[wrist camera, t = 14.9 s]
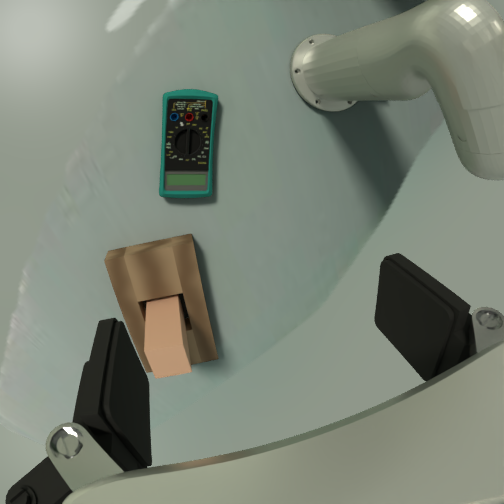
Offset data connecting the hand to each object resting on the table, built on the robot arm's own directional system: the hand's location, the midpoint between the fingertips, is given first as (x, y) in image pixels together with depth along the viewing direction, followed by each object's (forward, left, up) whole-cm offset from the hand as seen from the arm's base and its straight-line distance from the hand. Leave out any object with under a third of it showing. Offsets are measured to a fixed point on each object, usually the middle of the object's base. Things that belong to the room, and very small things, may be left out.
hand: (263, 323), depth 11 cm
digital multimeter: (0, -3, -37) cm, 37 cm away
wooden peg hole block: (+8, +21, -36) cm, 42 cm away
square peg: (+8, +21, -36) cm, 42 cm away
